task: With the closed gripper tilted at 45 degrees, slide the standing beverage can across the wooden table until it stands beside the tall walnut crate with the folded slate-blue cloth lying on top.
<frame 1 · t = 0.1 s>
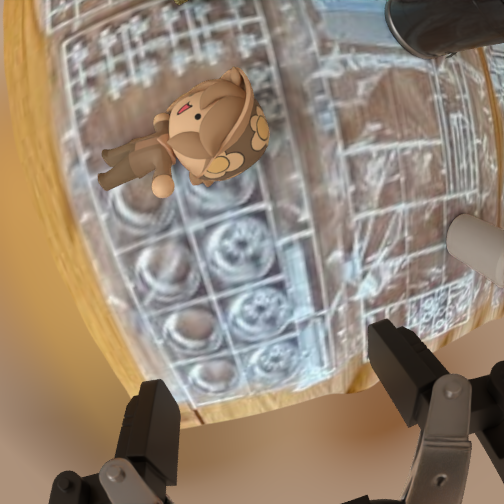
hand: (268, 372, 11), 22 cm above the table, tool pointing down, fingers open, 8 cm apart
action figure: (185, 142, 28), on the table
beverage can: (457, 233, 35), on the table
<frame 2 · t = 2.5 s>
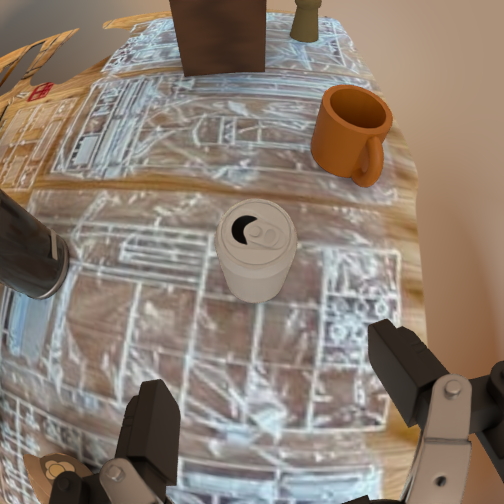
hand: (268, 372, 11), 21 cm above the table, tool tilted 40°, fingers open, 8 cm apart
action figure: (84, 497, 23), on the table
crate: (225, 56, 48), on the table
pepper shaker: (304, 36, 51), on the table
mug: (343, 162, 39), on the table
beverage can: (255, 276, 34), on the table
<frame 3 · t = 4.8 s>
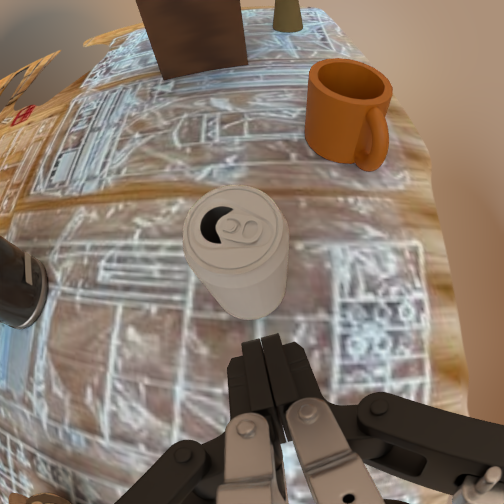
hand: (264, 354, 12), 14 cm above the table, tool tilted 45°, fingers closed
crate: (205, 55, 45), on the table
pepper shaker: (287, 27, 48), on the table
mug: (344, 147, 33), on the table
beverage can: (251, 287, 28), on the table
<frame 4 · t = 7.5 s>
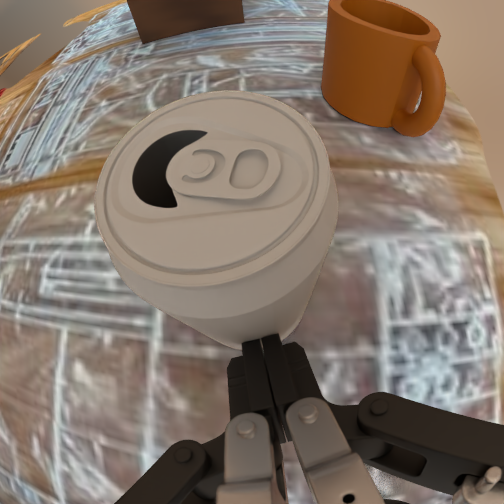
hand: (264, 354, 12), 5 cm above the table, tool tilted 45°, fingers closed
crate: (193, 17, 34), on the table
mug: (374, 108, 23), on the table
beverage can: (251, 297, 18), on the table, touching gripper
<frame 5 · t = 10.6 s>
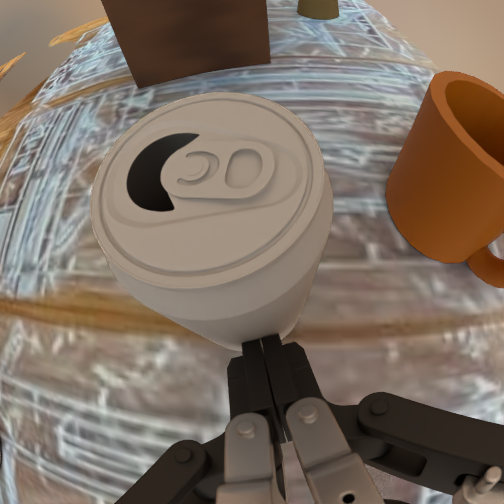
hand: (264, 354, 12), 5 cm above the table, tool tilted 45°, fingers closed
crate: (202, 48, 29), on the table
pepper shaker: (318, 13, 32), on the table
mug: (446, 227, 18), on the table
beverage can: (248, 298, 18), on the table, touching gripper
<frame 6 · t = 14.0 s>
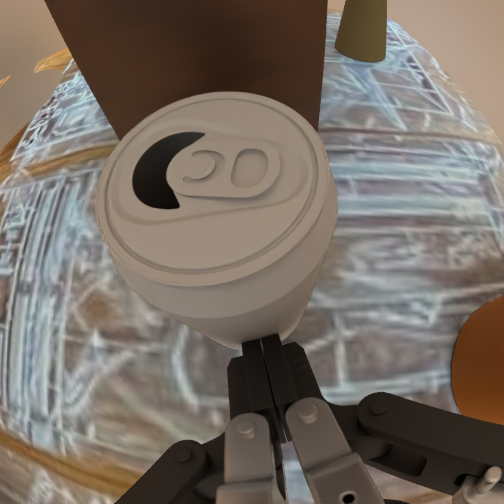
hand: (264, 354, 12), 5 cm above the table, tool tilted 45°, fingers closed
crate: (220, 104, 24), on the table
pepper shaker: (360, 50, 27), on the table
mug: (499, 385, 14), on the table
beverage can: (251, 298, 18), on the table, touching gripper
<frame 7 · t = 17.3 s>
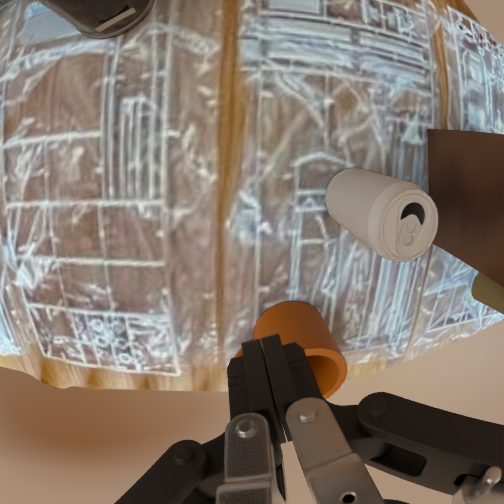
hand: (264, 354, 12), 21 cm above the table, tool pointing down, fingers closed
crate: (460, 184, 32), on the table
pepper shaker: (482, 282, 39), on the table
mug: (275, 332, 37), on the table
beverage can: (349, 196, 32), on the table
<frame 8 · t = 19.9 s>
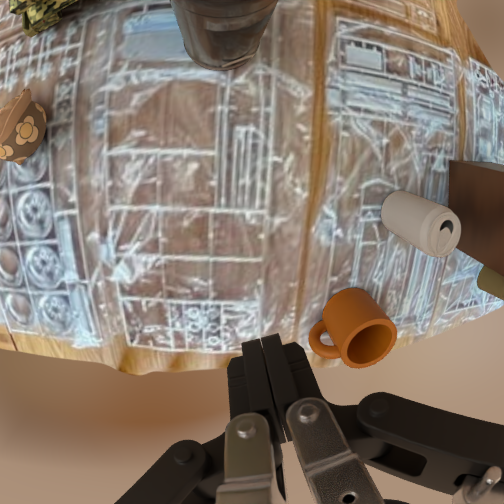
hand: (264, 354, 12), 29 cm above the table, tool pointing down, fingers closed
action figure: (17, 133, 31), on the table
crate: (470, 200, 42), on the table
pepper shaker: (485, 275, 49), on the table
mug: (338, 313, 47), on the table
beverage can: (395, 210, 41), on the table
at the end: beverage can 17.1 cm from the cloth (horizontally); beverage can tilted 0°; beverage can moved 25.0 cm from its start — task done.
